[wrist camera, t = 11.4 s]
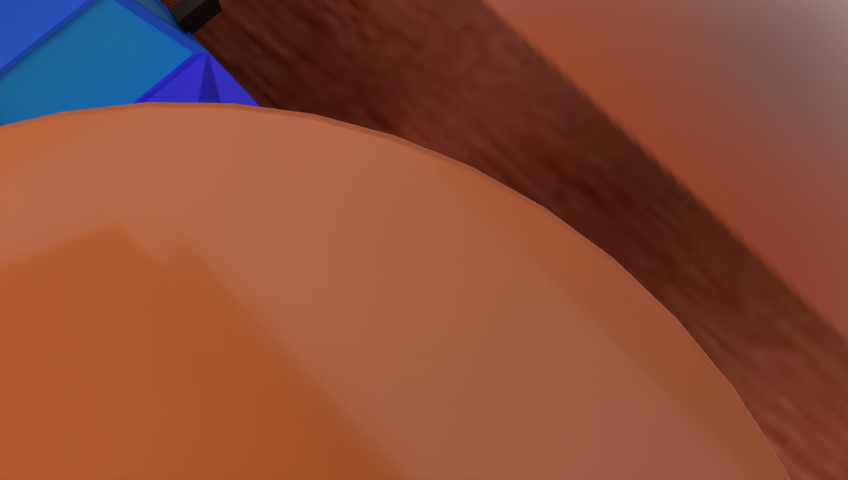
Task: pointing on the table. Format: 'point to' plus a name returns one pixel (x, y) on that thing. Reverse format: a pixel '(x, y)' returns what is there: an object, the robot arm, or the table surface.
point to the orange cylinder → (325, 315)
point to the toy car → (106, 56)
